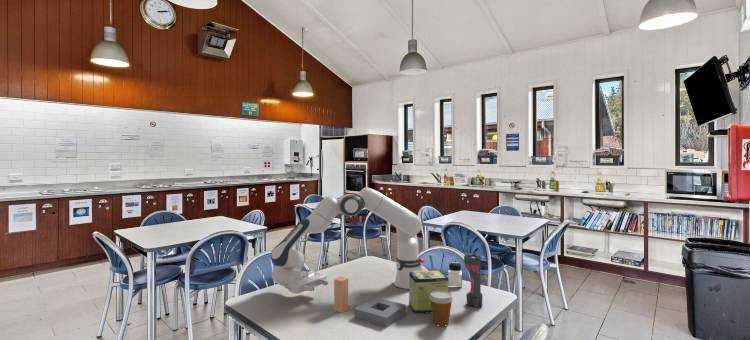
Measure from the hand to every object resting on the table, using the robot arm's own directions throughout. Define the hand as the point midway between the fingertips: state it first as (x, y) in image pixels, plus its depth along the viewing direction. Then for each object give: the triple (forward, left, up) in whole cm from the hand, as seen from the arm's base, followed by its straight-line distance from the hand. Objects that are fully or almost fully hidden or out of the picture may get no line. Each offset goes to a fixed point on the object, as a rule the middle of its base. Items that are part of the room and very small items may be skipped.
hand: (320, 286), depth 173 cm
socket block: (-19, +24, -8) cm, 31 cm away
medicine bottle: (-72, +7, -8) cm, 73 cm away
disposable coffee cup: (-38, +41, -8) cm, 56 cm away
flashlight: (-63, +31, -8) cm, 71 cm away
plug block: (-6, +11, -8) cm, 15 cm away
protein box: (-42, +26, -8) cm, 50 cm away
